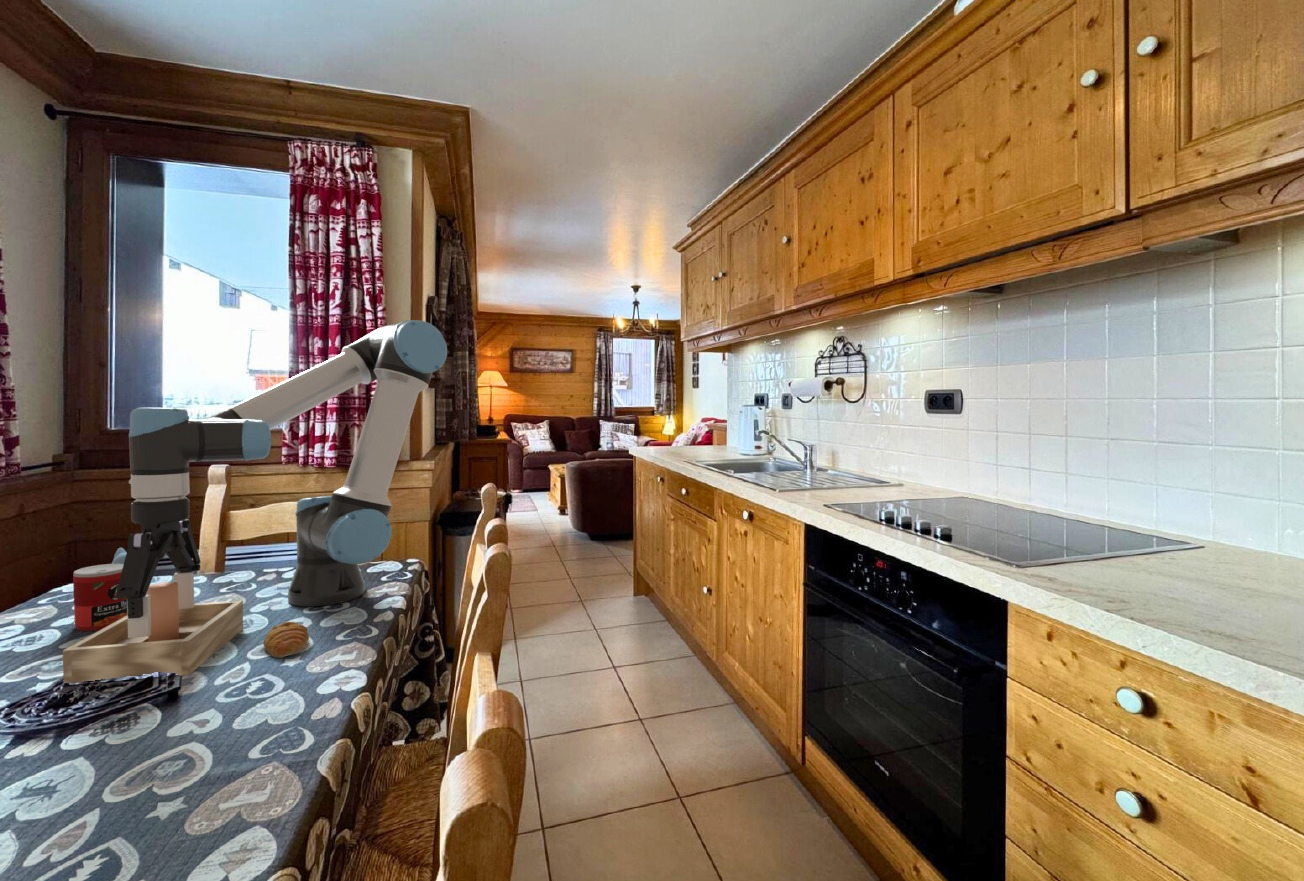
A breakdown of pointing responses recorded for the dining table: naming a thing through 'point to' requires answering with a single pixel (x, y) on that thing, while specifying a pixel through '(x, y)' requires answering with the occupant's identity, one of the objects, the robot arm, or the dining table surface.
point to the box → (154, 646)
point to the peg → (164, 611)
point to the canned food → (97, 597)
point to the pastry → (286, 639)
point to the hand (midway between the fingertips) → (163, 621)
